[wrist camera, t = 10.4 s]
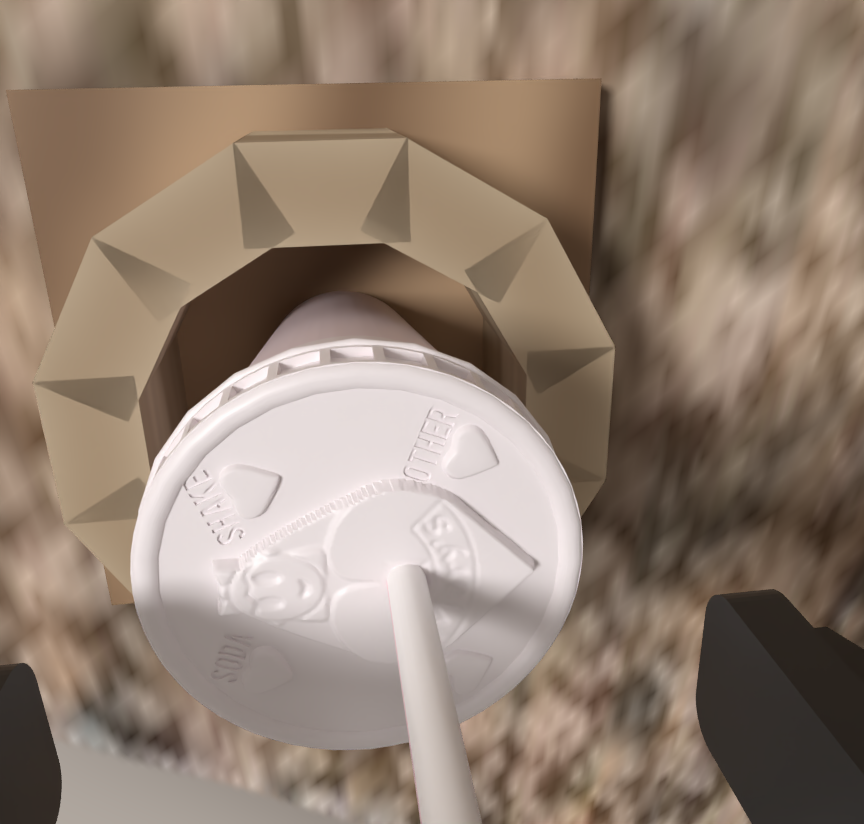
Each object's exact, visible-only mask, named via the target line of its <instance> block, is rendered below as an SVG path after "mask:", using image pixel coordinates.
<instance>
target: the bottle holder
mask: <svg viewBox="0 0 864 824" xmlns="http://www.w3.org/2000/svg"><path fill="white" fill-rule="evenodd" d="M6 93H7V98H8V103H9V108H10V112H11V117H12V122H13V127H14V132H15V137H16V142H17V146H18V151H19V156H20V161H21V166H22V171H23V176H24V180H25V185H26V190H27V195H28V200H29V205H30V210H31V214H32V219H33V224H34V229H35V234H36V239H37V244H38V248H39V253H40V258H41V263H42V268H43V273H44V278H45V282H46V287H47V292H48V297H49V302H50V307H51V312H52V316H53V321H54V326H55V329H54V332H53V334H52V336H51V339H50V341H49V344H48V346H47V349H46V351H45V354H44V356H43V359H42V361H41V364H40V366H39V368H38V371H37V373H36V376H35V378H34V381H33V386H34V391H35V395H36V400H37V404H38V409H39V413H40V418H41V422H42V427H43V431H44V436H45V440H46V445H47V449H48V454H49V458H50V463H51V467H52V471H53V476H54V480H55V485H56V489H57V494H58V498H59V503H60V507H61V512H62V516H63V521H64V525H66V527H67V528H68V529H69V530H70V531H71V532H72V533H73V534H74V535H75V536H76V537H77V538H78V539H79V540H80V541H81V542H82V543H83V544H84V545H85V546H86V547H87V548H88V549H89V550H90V551H91V552H92V553H93V554H94V555H95V556H96V557H97V558H98V560H99V561H100V562H101V563H102V564H103V565H104V569H105V574H106V579H107V584H108V589H109V593H110V598H111V603H112V605H118V604H129V603H135V602H134V598H133V593H132V584H131V575H130V563H131V547H132V540H133V533H134V529H135V525H136V521H137V517H138V510H139V507H140V503H141V500H142V497H143V494H144V491H145V488H146V485H147V482H148V478H149V475H150V472H151V469H152V466H153V463H154V460H155V458H156V456H157V455H158V453H159V452H160V450H161V449H162V447H163V446H164V445H165V443H166V442H167V440H168V439H169V437H170V436H171V435H172V433H173V432H174V430H175V429H176V427H177V426H178V424H179V423H180V422H181V420H182V419H183V417H184V416H185V414H186V413H187V412H188V411H189V410H190V409H191V408H192V407H194V406H195V405H196V404H197V403H199V402H200V401H201V400H202V399H203V398H205V397H206V396H207V395H208V394H210V393H211V392H212V391H213V390H215V389H216V388H217V387H218V386H219V385H221V384H222V383H223V382H224V381H226V380H227V379H228V378H229V377H231V376H232V375H233V374H234V373H236V372H239V371H241V370H243V369H245V368H248V367H249V366H250V364H251V363H252V362H253V360H254V359H255V358H256V356H257V355H258V353H259V352H260V351H261V349H262V348H263V347H264V345H265V344H266V343H267V341H268V340H269V339H270V337H271V336H272V335H273V333H274V332H275V330H276V329H277V328H278V326H279V325H280V324H281V322H282V321H283V320H284V318H285V317H286V316H287V315H288V314H289V313H290V312H291V311H292V310H293V309H294V308H296V307H297V306H298V305H300V304H301V303H303V302H304V301H306V300H308V299H310V298H312V297H315V296H317V295H320V294H324V293H328V292H334V291H352V292H358V293H363V294H366V295H369V296H372V297H374V298H377V299H378V300H380V301H382V302H384V303H385V304H387V305H388V306H389V307H391V308H392V309H393V310H394V311H395V312H396V313H398V314H399V315H400V316H401V317H402V318H403V319H404V320H405V321H406V322H407V323H408V324H409V325H410V326H411V327H412V328H414V329H415V330H416V331H417V332H418V333H419V334H420V335H421V336H422V337H423V338H424V339H425V340H426V341H427V342H428V343H430V344H431V345H432V346H433V347H434V348H435V349H436V350H437V351H438V352H441V353H444V354H447V355H450V356H452V357H455V358H458V359H461V360H463V361H466V362H469V363H471V364H473V365H474V366H475V367H477V368H478V369H480V370H481V371H482V372H484V373H485V374H487V375H488V376H489V377H491V378H492V379H494V380H495V381H497V382H498V383H499V384H501V385H502V386H504V387H505V388H506V389H508V390H509V391H511V392H512V393H514V394H515V395H516V396H517V397H518V398H519V400H520V401H521V402H522V403H523V405H524V406H525V407H526V408H527V410H528V411H529V412H530V414H531V415H532V416H533V417H534V419H535V420H536V421H537V422H538V424H539V425H540V426H541V427H542V429H543V430H544V431H545V432H546V434H547V435H548V436H549V439H550V441H551V444H552V446H553V449H554V452H555V454H556V456H557V458H558V460H559V461H560V463H561V464H562V466H563V468H564V470H565V472H566V474H567V476H568V479H569V481H570V483H571V485H572V488H573V491H574V494H575V497H576V500H577V504H578V508H579V513H580V518H581V517H582V515H583V514H584V512H585V511H586V509H587V508H588V506H589V505H590V503H591V502H592V500H593V498H594V497H595V495H596V494H597V492H598V491H599V489H600V488H601V486H602V485H603V483H604V482H605V480H606V470H607V456H608V442H609V428H610V413H611V399H612V385H613V371H614V357H615V346H614V344H613V342H612V340H611V338H610V336H609V334H608V332H607V331H606V329H605V327H604V325H603V323H602V321H601V319H600V317H599V315H598V313H597V312H596V310H595V308H594V306H593V304H592V302H591V300H590V298H589V290H590V273H591V255H592V237H593V220H594V202H595V184H596V167H597V149H598V131H599V114H600V96H601V79H552V80H501V81H449V82H397V83H345V84H293V85H242V86H190V87H138V88H86V89H34V90H6Z"/></svg>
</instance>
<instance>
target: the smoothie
mask: <svg viewBox="0 0 864 824" xmlns="http://www.w3.org/2000/svg"><path fill="white" fill-rule="evenodd" d="M582 555H583V536H582V525H581V518H580V513H579V508H578V504H577V500H576V497H575V494H574V491H573V488H572V485H571V483H570V481H569V479H568V476H567V474H566V472H565V470H564V468H563V466H562V464H561V463H560V461H559V460H558V458H557V456H556V454H555V452H554V449H553V446H552V444H551V441H550V439H549V436H548V435H547V434H546V432H545V431H544V430H543V429H542V427H541V426H540V425H539V424H538V422H537V421H536V420H535V419H534V417H533V416H532V415H531V414H530V412H529V411H528V410H527V408H526V407H525V406H524V405H523V403H522V402H521V401H520V400H519V398H518V397H517V396H516V395H515V394H514V393H512V392H511V391H509V390H508V389H506V388H505V387H504V386H502V385H501V384H499V383H498V382H497V381H495V380H494V379H492V378H491V377H489V376H488V375H487V374H485V373H484V372H482V371H481V370H480V369H478V368H477V367H475V366H474V365H473V364H471V363H469V362H466V361H463V360H461V359H458V358H455V357H452V356H450V355H447V354H444V353H441V352H438V351H437V350H436V349H435V348H434V347H433V346H432V345H431V344H430V343H428V342H427V341H426V340H425V339H424V338H423V337H422V336H421V335H420V334H419V333H418V332H417V331H416V330H415V329H414V328H412V327H411V326H410V325H409V324H408V323H407V322H406V321H405V320H404V319H403V318H402V317H401V316H400V315H399V314H398V313H396V312H395V311H394V310H393V309H392V308H391V307H389V306H388V305H387V304H385V303H384V302H382V301H380V300H378V299H377V298H374V297H372V296H369V295H366V294H363V293H358V292H352V291H334V292H328V293H324V294H320V295H317V296H315V297H312V298H310V299H308V300H306V301H304V302H303V303H301V304H300V305H298V306H297V307H296V308H294V309H293V310H292V311H291V312H290V313H289V314H288V315H287V316H286V317H285V318H284V320H283V321H282V322H281V324H280V325H279V326H278V328H277V329H276V330H275V332H274V333H273V335H272V336H271V337H270V339H269V340H268V341H267V343H266V344H265V345H264V347H263V348H262V349H261V351H260V352H259V353H258V355H257V356H256V358H255V359H254V360H253V362H252V363H251V364H250V366H249V367H248V368H245V369H243V370H241V371H239V372H236V373H234V374H233V375H232V376H231V377H229V378H228V379H227V380H226V381H224V382H223V383H222V384H221V385H219V386H218V387H217V388H216V389H215V390H213V391H212V392H211V393H210V394H208V395H207V396H206V397H205V398H203V399H202V400H201V401H200V402H199V403H197V404H196V405H195V406H194V407H192V408H191V409H190V410H189V411H188V412H187V413H186V414H185V416H184V417H183V419H182V420H181V422H180V423H179V424H178V426H177V427H176V429H175V430H174V432H173V433H172V435H171V436H170V437H169V439H168V440H167V442H166V443H165V445H164V446H163V447H162V449H161V450H160V452H159V453H158V455H157V456H156V458H155V460H154V463H153V466H152V469H151V472H150V475H149V478H148V482H147V485H146V488H145V491H144V494H143V497H142V500H141V503H140V507H139V510H138V517H137V521H136V525H135V529H134V533H133V540H132V547H131V563H130V575H131V584H132V593H133V598H134V602H135V607H136V611H137V614H138V617H139V620H140V623H141V625H142V628H143V631H144V633H145V635H146V637H147V639H148V641H149V643H150V645H151V647H152V649H153V650H154V652H155V653H156V655H157V657H158V658H159V660H160V661H161V663H162V664H163V666H164V667H165V668H166V669H167V671H168V672H169V673H170V674H171V676H172V677H173V678H174V679H175V680H176V681H177V682H178V683H179V684H180V685H181V686H182V687H183V688H184V689H185V690H186V691H187V692H188V693H189V694H190V695H191V696H192V697H194V698H195V699H196V700H197V701H199V702H200V703H201V704H202V705H204V706H205V707H206V708H208V709H209V710H211V711H212V712H214V713H215V714H217V715H218V716H220V717H222V718H224V719H225V720H227V721H229V722H231V723H233V724H234V725H236V726H239V727H241V728H243V729H245V730H248V731H250V732H252V733H255V734H258V735H261V736H263V737H266V738H269V739H272V740H276V741H280V742H284V743H288V744H291V745H297V746H304V747H310V748H319V749H329V750H357V749H374V748H380V747H386V746H393V745H397V744H402V743H407V742H409V744H410V751H411V758H412V765H413V772H414V779H415V786H416V793H417V800H418V807H419V814H420V821H421V824H482V821H481V817H480V812H479V808H478V804H477V799H476V795H475V790H474V786H473V782H472V777H471V773H470V768H469V764H468V760H467V755H466V751H465V746H464V742H463V738H462V733H461V729H460V723H462V722H464V721H466V720H468V719H470V718H471V717H473V716H475V715H477V714H478V713H480V712H482V711H484V710H485V709H487V708H488V707H489V706H491V705H492V704H494V703H495V702H497V701H498V700H500V699H501V698H502V697H503V696H505V695H506V694H507V693H508V692H510V691H511V690H512V689H513V688H515V687H516V686H517V685H518V684H519V683H520V682H521V681H522V680H523V679H524V678H525V677H526V676H527V675H528V674H529V673H530V672H531V671H532V670H533V668H534V667H535V666H536V665H537V664H538V663H539V662H540V660H541V659H542V658H543V656H544V655H545V654H546V652H547V651H548V650H549V648H550V647H551V645H552V644H553V642H554V641H555V639H556V637H557V636H558V634H559V632H560V631H561V629H562V627H563V625H564V623H565V620H566V618H567V616H568V614H569V612H570V609H571V606H572V603H573V601H574V598H575V595H576V591H577V587H578V583H579V579H580V573H581V566H582Z"/></svg>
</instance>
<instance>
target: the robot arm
mask: <svg viewBox="0 0 864 824" xmlns="http://www.w3.org/2000/svg"><path fill="white" fill-rule="evenodd" d="M696 708H697V715H698V720H699V725H700V728H701V732H702V734H703V737H704V740H705V742H706V745H707V746H708V748H709V750H710V752H711V754H712V756H713V757H714V759H715V761H716V762H717V764H718V766H719V768H720V769H721V771H722V773H723V775H724V776H725V778H726V780H727V782H728V783H729V785H730V787H731V788H732V790H733V792H734V794H735V795H736V797H737V799H738V801H739V802H740V804H741V806H742V807H743V809H744V811H745V813H746V814H747V816H748V818H749V820H750V821H751V823H752V824H864V649H862V648H861V647H859V646H857V645H856V644H854V643H852V642H851V641H849V640H847V639H846V638H844V637H842V636H841V635H839V634H837V633H836V632H834V631H833V630H831V629H829V628H828V627H820V628H813V627H812V626H811V624H810V623H809V622H808V621H807V620H806V619H805V618H804V617H803V616H802V614H801V613H800V612H799V611H798V610H797V609H796V608H795V607H794V606H793V605H792V603H791V602H790V601H789V600H788V599H787V598H786V597H785V596H784V595H783V594H782V593H781V592H779V591H777V590H774V589H770V590H760V591H750V592H740V593H730V594H721V595H714V596H712V597H711V598H710V600H709V602H708V604H707V607H706V613H705V621H704V630H703V638H702V647H701V655H700V664H699V672H698V680H697V689H696ZM61 789H62V780H61V769H60V763H59V759H58V756H57V752H56V748H55V745H54V741H53V738H52V734H51V730H50V727H49V723H48V720H47V716H46V712H45V709H44V705H43V701H42V698H41V694H40V691H39V687H38V683H37V680H36V677H35V674H34V672H33V670H32V669H31V667H30V666H29V665H27V664H25V663H19V664H9V665H0V824H56V821H57V816H58V813H59V808H60V800H61Z"/></svg>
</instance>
